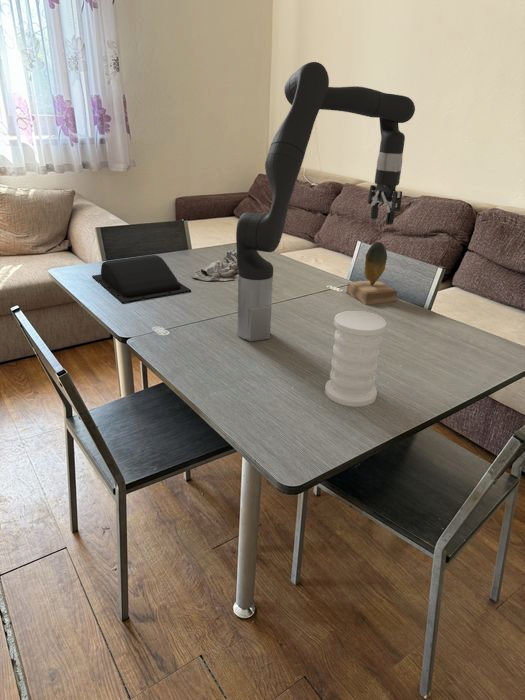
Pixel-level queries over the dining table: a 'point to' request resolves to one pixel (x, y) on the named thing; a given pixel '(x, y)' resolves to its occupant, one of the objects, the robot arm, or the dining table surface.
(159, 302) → the dining table surface
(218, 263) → the wall ornament
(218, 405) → the dining table surface
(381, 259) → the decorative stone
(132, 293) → the black rounded block
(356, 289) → the plinth
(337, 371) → the decorative container
